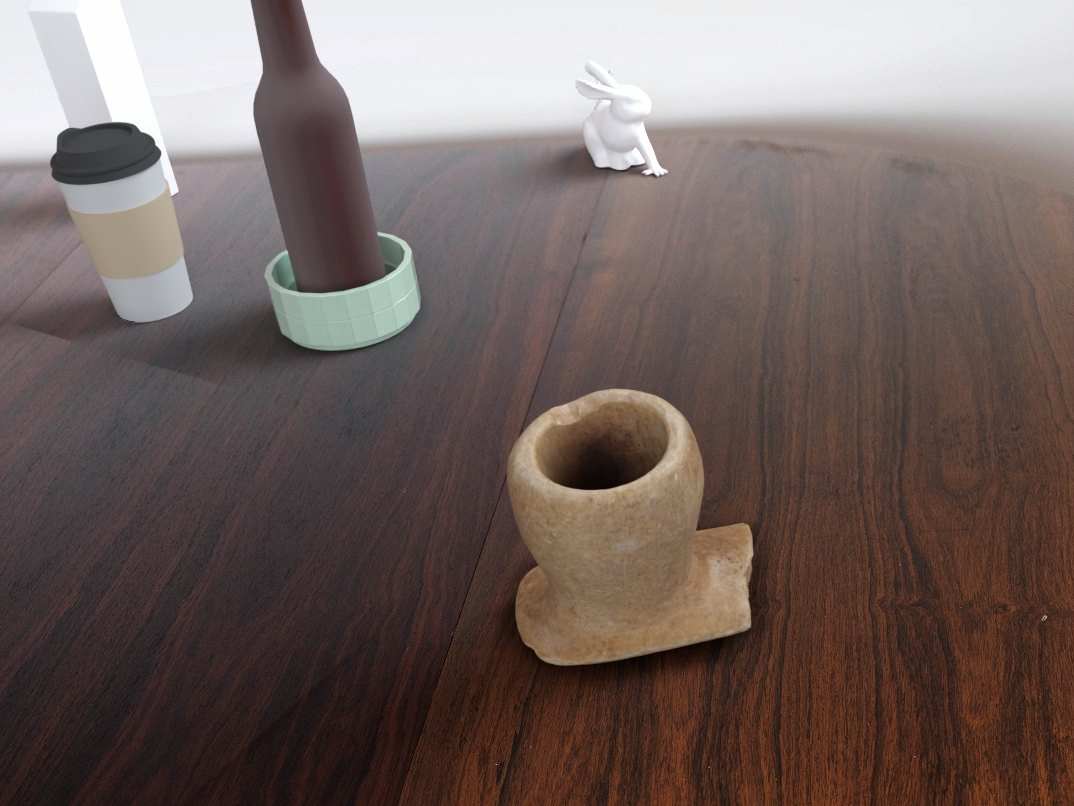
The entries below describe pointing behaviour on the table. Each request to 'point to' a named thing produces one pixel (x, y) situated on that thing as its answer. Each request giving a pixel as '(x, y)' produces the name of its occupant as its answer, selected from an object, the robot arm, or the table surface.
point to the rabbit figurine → (617, 123)
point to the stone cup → (621, 534)
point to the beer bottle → (312, 157)
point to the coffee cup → (124, 217)
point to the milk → (96, 67)
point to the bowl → (347, 303)
